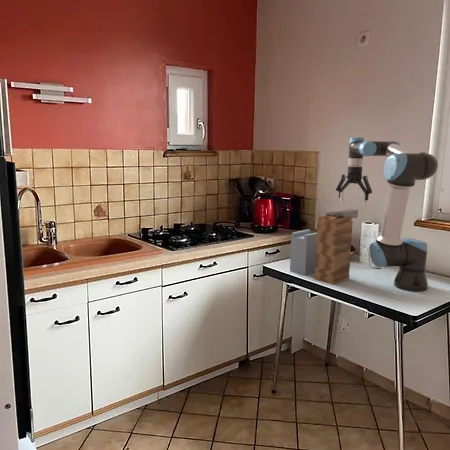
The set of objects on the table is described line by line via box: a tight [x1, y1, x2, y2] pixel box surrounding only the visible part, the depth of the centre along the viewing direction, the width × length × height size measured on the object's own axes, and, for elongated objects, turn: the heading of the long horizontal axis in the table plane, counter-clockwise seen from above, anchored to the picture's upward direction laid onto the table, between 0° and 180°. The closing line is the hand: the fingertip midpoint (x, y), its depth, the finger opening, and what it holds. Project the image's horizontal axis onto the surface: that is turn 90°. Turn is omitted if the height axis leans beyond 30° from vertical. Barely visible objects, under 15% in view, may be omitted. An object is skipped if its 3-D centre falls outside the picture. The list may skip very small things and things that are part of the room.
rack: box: [289, 229, 317, 276], centre depth 243 cm, size 10×14×21 cm
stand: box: [314, 214, 354, 285], centre depth 228 cm, size 11×14×33 cm
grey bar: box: [325, 208, 359, 220], centre depth 229 cm, size 5×22×4 cm, turn 133°
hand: (352, 205), depth 251 cm, fingers open, 13 cm apart
